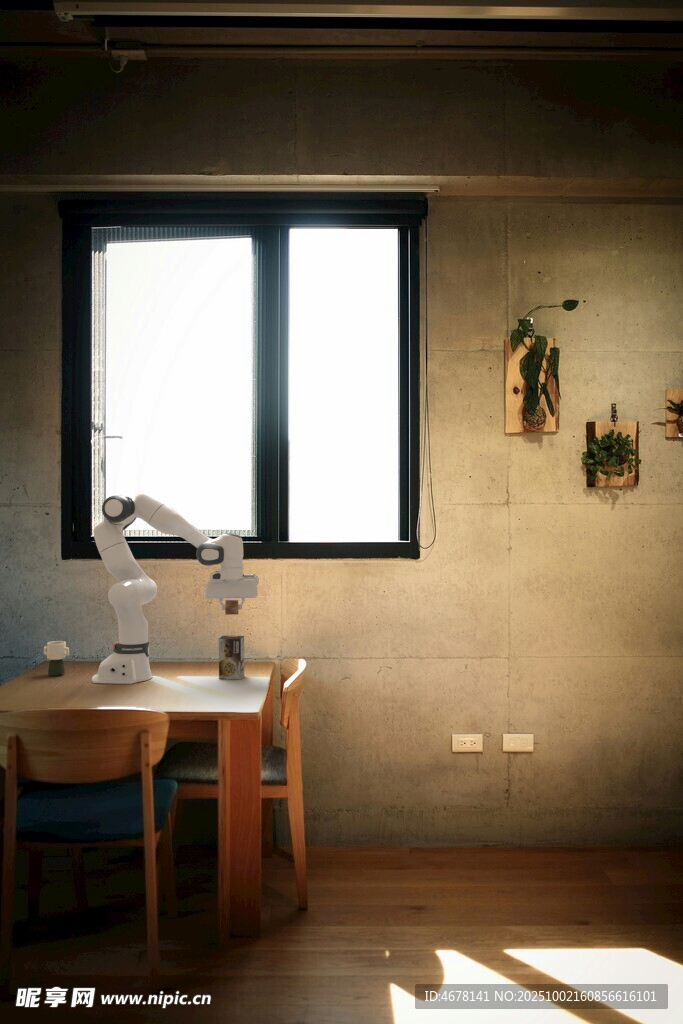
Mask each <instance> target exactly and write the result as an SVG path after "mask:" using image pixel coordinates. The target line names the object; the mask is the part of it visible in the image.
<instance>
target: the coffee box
mask: <svg viewBox="0 0 683 1024" xmlns="http://www.w3.org/2000/svg"><path fill="white" fill-rule="evenodd" d="M244 677H245V635H221V636H220V637H219V638H218V679H219V678H226V679H225V680H242V679H243V678H244Z"/></svg>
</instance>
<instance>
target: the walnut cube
mask: <svg viewBox="0 0 683 1024" xmlns="http://www.w3.org/2000/svg"><path fill="white" fill-rule="evenodd" d="M224 601H225V603H224V605H225V610H224V611H225V616H226V615H239V609H238V605H239V599H236V600H235V599H226V600H224Z"/></svg>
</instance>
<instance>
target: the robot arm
mask: <svg viewBox="0 0 683 1024" xmlns="http://www.w3.org/2000/svg"><path fill="white" fill-rule="evenodd" d="M101 513H102V515H103V517H104V520H103V521H102V522H99V523H98V524H97V525H96V526H95V527H94V529H93V538H94V541H95V546H96V547H97V550H98V553H99V555H100V557H101V560H102V562H103V564H104V567H105V568H106V571H107V573H109V574H110V575H112V576H113V577H114V578H115V579H116V580H117V581H118V582H116V583H115V584H113V585H112V586H111V587H110V588H109V591H108V594H107V597H108V602H109V603H110V605H111V606H112V607H113V608H114V611H115V614H116V617H117V622H118V623H117V624H118V641H115V642H113V647H112V649H113V652H112V653H111V654H110V655H109V656H107V657H106V658H105V659H104V660H102V661H101V662H100V664H99V666H98V671H97V673H96V674H94V675H93V676H92V677H91V683H93V684H118V685H119V684H120V685H121V684H122V685H126V684H127V685H132V684H136V683H139V682H144V681H148V680H150V679H152V678H153V675H152V671H151V666H150V658H149V656H150V641H149V621H148V619H147V618H146V617H145V615H144V612H143V605H147V604H148V603H150V602H151V601H152V600H154V599H155V598H156V597H157V595H158V586H157V583H156V582H155V581H154V579H152V578H150V577H149V576H148V575H147V574H146V573H145V572H144V570H143V568H142V567H141V566H140V564H138V562H137V560H136V559H135V556H134V555H133V553H132V551H131V548H130V546H129V544H128V543H127V540H126V538H125V536H124V532H123V531H125V530H126V529H128V527H130V526H131V525H132V524H133V523H134V522H135V521H136V519H138V518H139V519H141V520H143V521H144V522H146V524H148V525H149V526H151V528H153V529H154V530H156V531H158V532H160V533H162V534H165V535H169V536H170V535H171V536H176V537H179V538H182V539H184V540H185V541H187V542H188V543H189V544H191V545H192V546H193V547H195V548H196V552H195V556H196V559H197V561H198V562H199V563H200V564H201V565H203V566H207V567H212V566H215V565H216V566H218V565H220V570H216V571H213V572H211V573H209V580H208V582H207V584H206V590H205V597H206V599H218V602H219V603H220V605H221V611H225V604H224V603H223V599H240V600H241V603H240V604H238V610H243V605H244V603H245V601H246V599H256V598H257V597H258V595H259V594H258V593H259V591H258V585H259V583H260V582H259V580H260V579H259V577H258V576H257V575H256V574H255V573H252V574H248V573H246V574H245V573H244V563H243V558H244V542H243V538H242V537H241V536H240V535H239V534H236V533H232V532H231V533H230V532H224V533H222V534H220V535H219V536H217V537H216V538H212V537H210V536H208V535H207V534H205V533H204V532H202V531H201V530H200V529H198V528H196V527H195V526H194V525H193V524H191V523H190V522H189V521H188V520H186V518H184V517H183V516H182V514H180V513H179V512H178V511H177V509H175V508H174V507H173V506H171V505H170V504H169V503H168V502H167V501H165V500H164V499H162V498H160V497H159V496H157V495H156V494H154V493H152V492H150V491H146V490H143V491H141V492H139V493H138V494H137V495H135V497H134V498H132V497H130V496H126V495H125V496H124V495H110V496H109V497H107V498H106V499H105V500H104V501H103V503H102V505H101Z"/></svg>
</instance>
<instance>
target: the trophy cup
mask: <svg viewBox="0 0 683 1024" xmlns="http://www.w3.org/2000/svg"><path fill="white" fill-rule="evenodd" d="M66 642H67V641H63V640H54V641H48V642H46V645H45V646H44V647H43V655H45V656H46V657H47V658H46V659H47V660H50V661H49V662H48V670H47V674H48V675H50V676H61V675H62V674H66V670H65V669H66V668H65V663H64V662H65V661H64V660H63V659H65V658H66V657H67V656H70V648H69V647H68V646H67V643H66Z"/></svg>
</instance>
